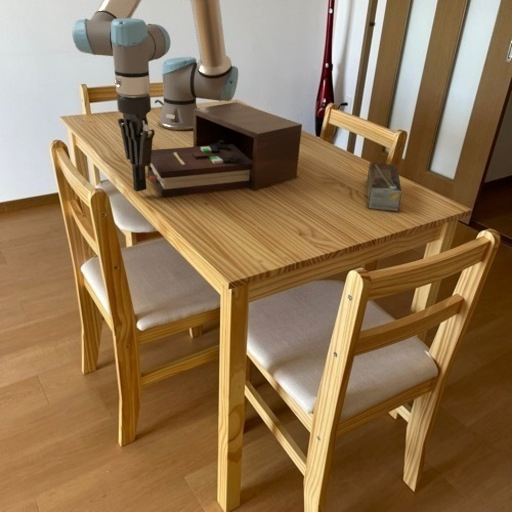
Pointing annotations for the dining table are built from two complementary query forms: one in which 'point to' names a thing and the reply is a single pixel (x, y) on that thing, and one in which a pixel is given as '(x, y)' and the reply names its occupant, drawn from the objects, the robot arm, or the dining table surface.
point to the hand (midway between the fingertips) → (140, 189)
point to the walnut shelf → (252, 139)
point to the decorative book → (199, 169)
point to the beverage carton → (383, 186)
